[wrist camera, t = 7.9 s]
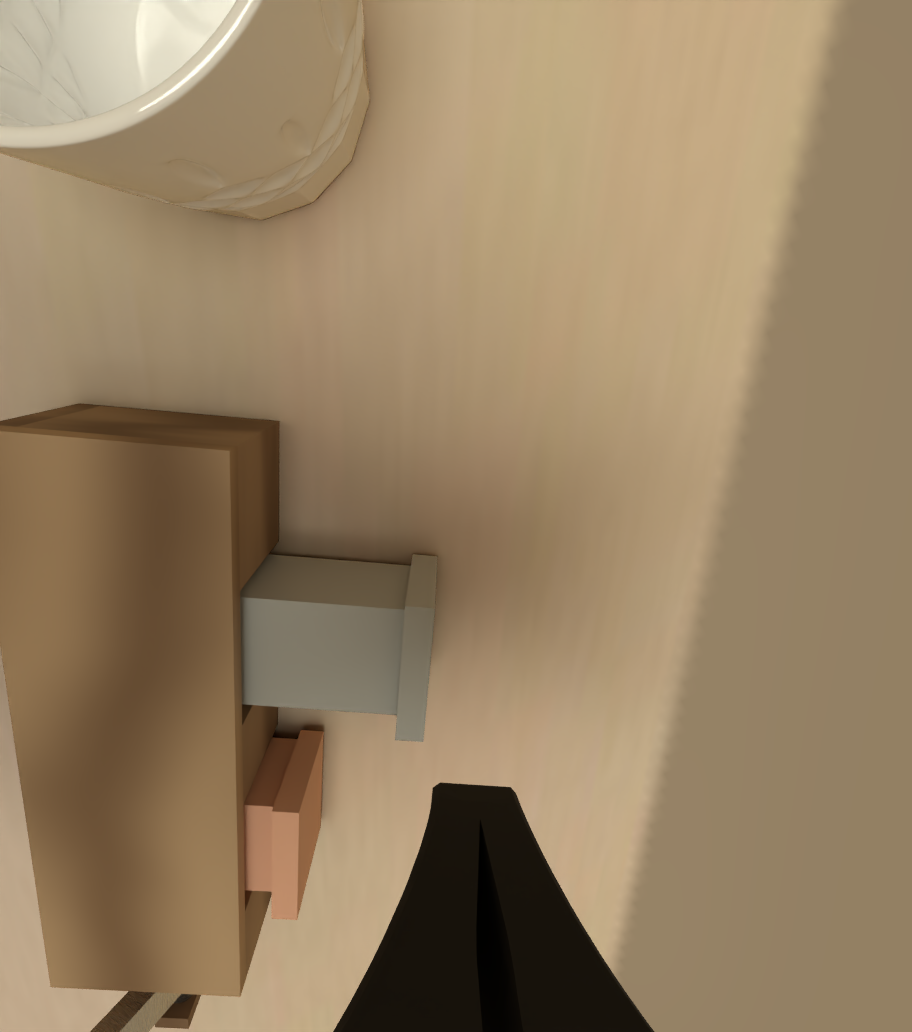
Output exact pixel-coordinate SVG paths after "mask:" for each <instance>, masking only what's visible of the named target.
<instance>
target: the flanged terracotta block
mask: <svg viewBox="0 0 912 1032" xmlns="http://www.w3.org/2000/svg"><path fill="white" fill-rule="evenodd" d="M323 734H324V732H323V731H309V730H301V731H300V734H299V737H298V739H287V738H272V739H271V741H270V743H269V746H268V748H267V751H266V753H265V755H264V758H263V760H262V762H261V765H260V767H259V770H258V772H257V774H256V777H255V779H254V781H253V784H252V786H251V789H250V791H249V793H248V796H247V798H246V800H245V803H244V805H243V811H244V876H245V890H251V891H269V892H272V919H290V920H297V918H298V914H299V910H300V906H301V902H302V898H303V894H304V890H305V886H306V882H307V878H308V874H309V870H310V866H311V862H312V858H313V854H314V850H315V846H316V842H317V838H318V834H319V830H320V826H321V798H322V766H323Z"/></svg>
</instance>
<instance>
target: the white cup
mask: <svg viewBox="0 0 912 1032" xmlns="http://www.w3.org/2000/svg"><path fill="white" fill-rule="evenodd" d="M369 102H370V95H369V85H368V75H367V65H366V55H365V45H364V14H363V6H362V0H0V154H4V155H7V156H10V157H14V158H17V159H20V160H23V161H27V162H30V163H33V164H36V165H40V166H43V167H46V168H49V169H52V170H56V171H59V172H62V173H65V174H69V175H72V176H75V177H78V178H81V179H84V180H88V181H91V182H94V183H97V184H100V185H104V186H107V187H110V188H113V189H116V190H120V191H123V192H126V193H130V194H133V195H137V196H141V197H144V198H148V199H152V200H157V201H161V202H165V203H168V204H174V205H177V206H181V207H185V208H190V209H195V210H204V211H209V212H215V213H221V214H227V215H233V216H239V217H245V218H251V219H257V220H263V219H266V218H269V217H272V216H275V215H278V214H281V213H284V212H287V211H290V210H293V209H296V208H298V207H301V206H304V205H307V204H310V203H313V202H314V201H315V200H316V199H317V198H318V196H319V195H320V194H321V193H322V192H323V191H324V190H325V189H326V188H327V187H328V186H329V185H330V183H331V182H332V181H333V180H334V179H335V178H336V177H337V176H338V175H339V174H340V173H341V171H342V170H343V169H344V168H345V167H346V166H347V165H348V164H349V163H350V162H351V160H352V157H353V154H354V151H355V147H356V144H357V141H358V138H359V134H360V131H361V128H362V125H363V121H364V118H365V115H366V112H367V108H368V105H369Z"/></svg>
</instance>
